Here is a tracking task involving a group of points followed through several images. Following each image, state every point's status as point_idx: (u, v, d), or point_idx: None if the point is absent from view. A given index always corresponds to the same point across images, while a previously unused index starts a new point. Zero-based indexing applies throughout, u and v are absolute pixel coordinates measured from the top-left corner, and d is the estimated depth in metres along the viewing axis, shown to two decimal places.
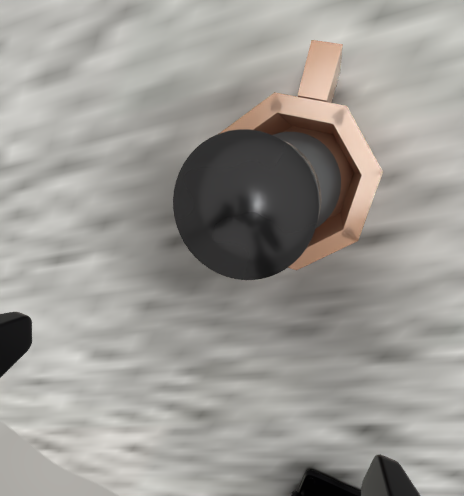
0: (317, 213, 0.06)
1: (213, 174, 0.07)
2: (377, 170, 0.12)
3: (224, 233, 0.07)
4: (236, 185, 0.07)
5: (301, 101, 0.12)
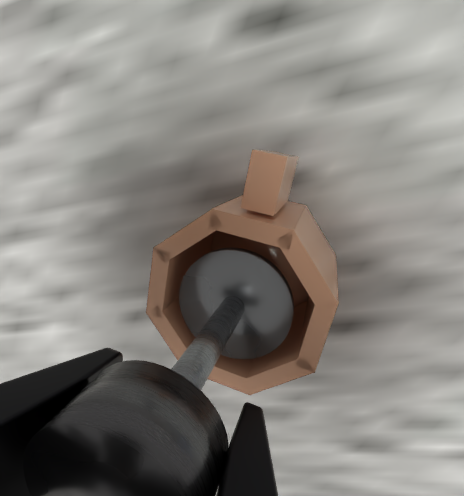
0: None
1: (64, 464, 0.05)
2: (332, 301, 0.10)
3: None
4: (93, 482, 0.05)
5: (242, 221, 0.11)
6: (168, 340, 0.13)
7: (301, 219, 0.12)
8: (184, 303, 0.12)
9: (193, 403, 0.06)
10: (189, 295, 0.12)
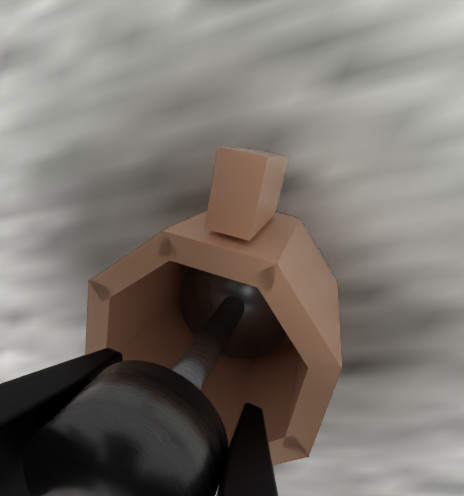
0: None
1: (64, 463, 0.05)
2: (332, 365, 0.07)
3: None
4: (93, 482, 0.05)
5: (204, 248, 0.07)
6: None
7: (291, 241, 0.09)
8: (184, 303, 0.12)
9: (193, 403, 0.06)
10: (189, 295, 0.12)
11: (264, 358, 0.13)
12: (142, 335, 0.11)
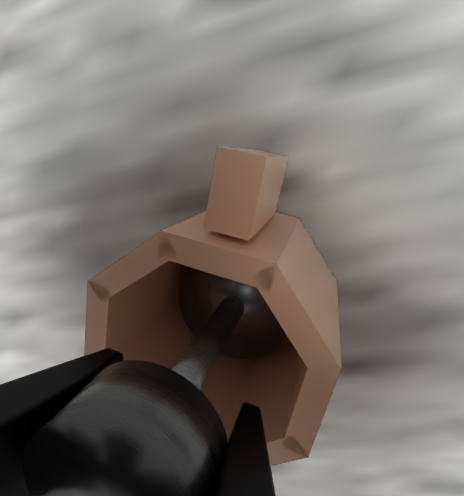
0: None
1: (63, 463, 0.05)
2: (332, 366, 0.07)
3: None
4: (93, 482, 0.05)
5: (203, 249, 0.07)
6: None
7: (290, 241, 0.09)
8: (184, 303, 0.12)
9: (192, 403, 0.06)
10: (189, 294, 0.12)
11: (264, 358, 0.13)
12: (141, 335, 0.11)
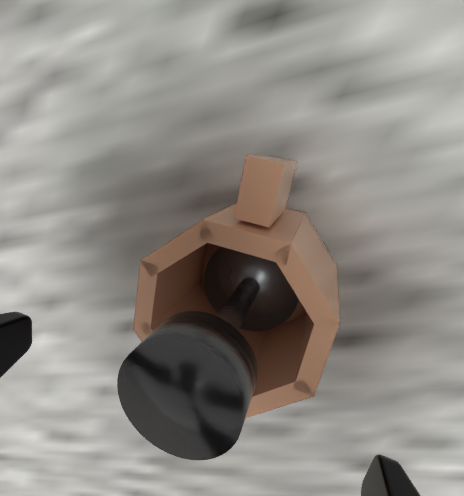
0: (242, 418, 0.07)
1: (150, 373, 0.07)
2: (332, 321, 0.10)
3: (164, 420, 0.08)
4: (170, 385, 0.07)
5: (235, 233, 0.10)
6: None
7: (299, 229, 0.12)
8: (208, 284, 0.15)
9: (235, 337, 0.08)
10: (213, 277, 0.15)
11: (275, 331, 0.15)
12: (175, 309, 0.14)
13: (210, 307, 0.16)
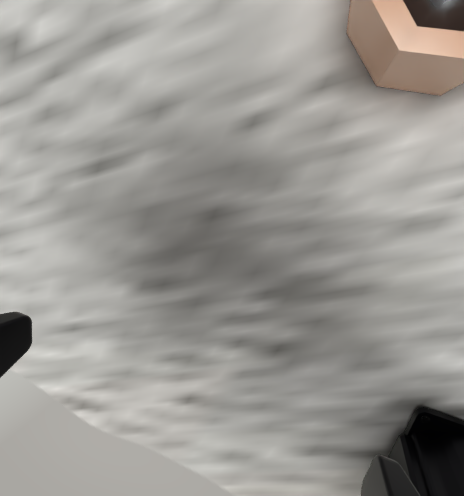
0: None
1: None
2: None
3: None
4: None
5: None
6: (383, 6, 0.10)
7: None
8: None
9: None
10: None
11: None
12: None
13: None
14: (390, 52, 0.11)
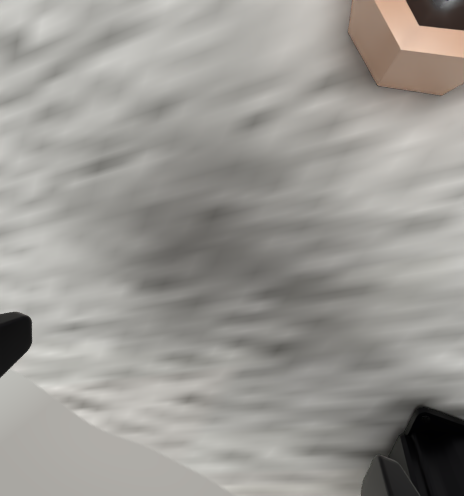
0: None
1: None
2: None
3: None
4: None
5: None
6: (385, 6, 0.10)
7: None
8: None
9: None
10: None
11: None
12: None
13: None
14: (392, 51, 0.11)
